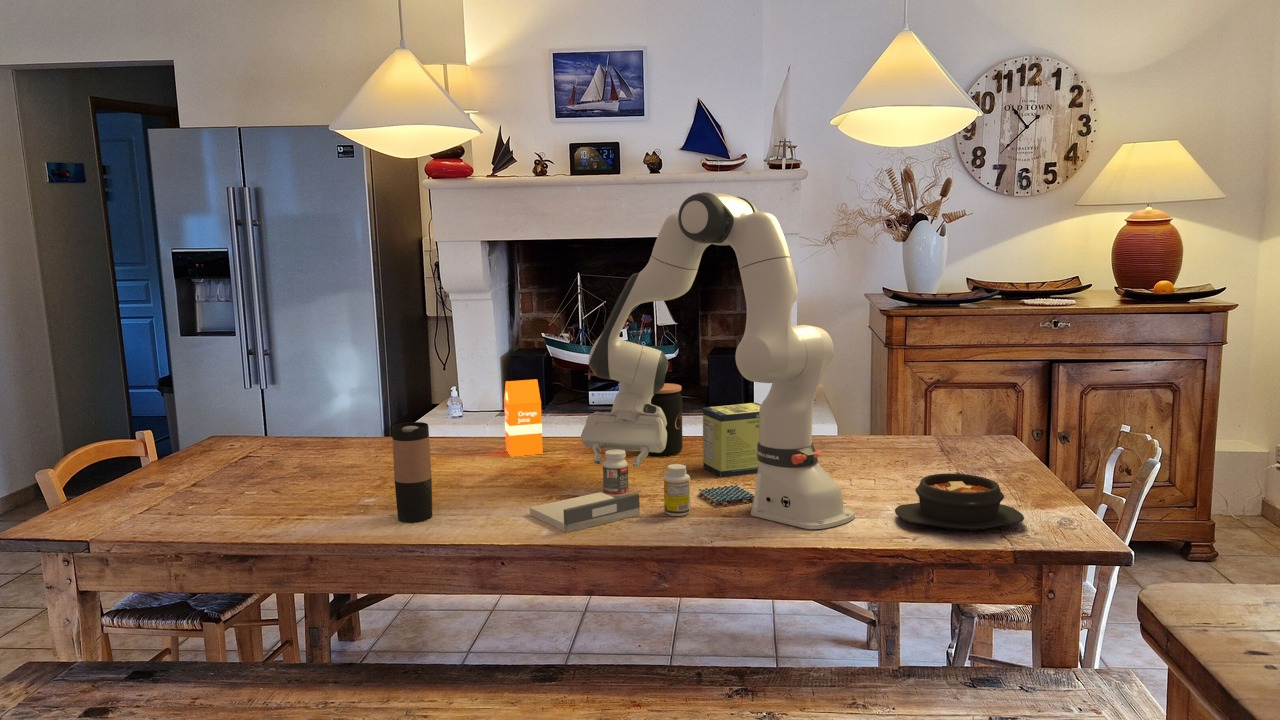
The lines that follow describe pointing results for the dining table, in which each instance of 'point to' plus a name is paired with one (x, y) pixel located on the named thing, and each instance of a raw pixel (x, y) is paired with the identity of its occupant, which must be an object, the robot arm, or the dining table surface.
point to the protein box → (731, 439)
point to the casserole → (959, 503)
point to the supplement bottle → (677, 491)
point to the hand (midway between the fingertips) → (616, 464)
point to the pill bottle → (615, 473)
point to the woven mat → (726, 496)
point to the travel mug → (412, 471)
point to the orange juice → (523, 418)
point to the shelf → (587, 511)
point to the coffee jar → (670, 417)
